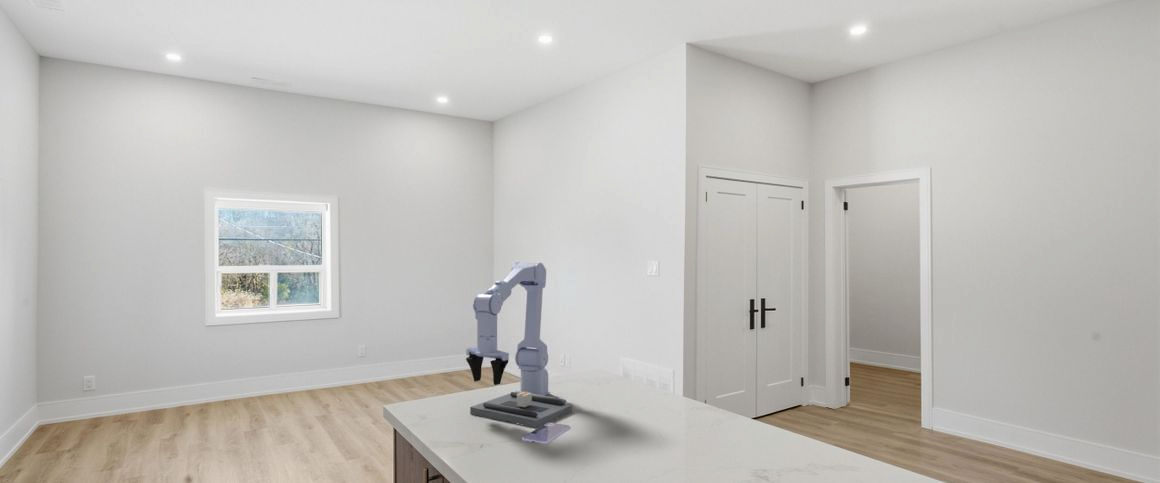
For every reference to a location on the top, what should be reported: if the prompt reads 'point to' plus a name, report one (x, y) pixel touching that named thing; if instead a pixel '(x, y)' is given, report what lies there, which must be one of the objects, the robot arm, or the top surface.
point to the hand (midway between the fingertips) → (487, 382)
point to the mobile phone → (546, 433)
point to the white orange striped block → (524, 399)
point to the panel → (543, 409)
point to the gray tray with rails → (525, 412)
